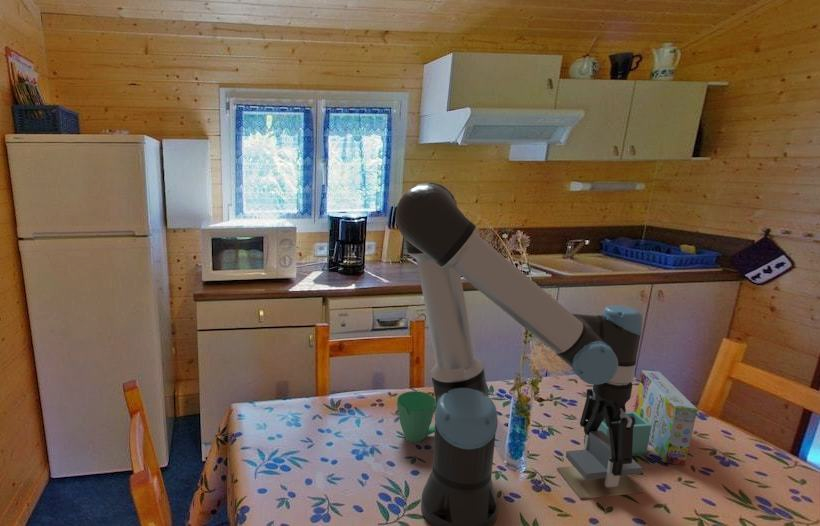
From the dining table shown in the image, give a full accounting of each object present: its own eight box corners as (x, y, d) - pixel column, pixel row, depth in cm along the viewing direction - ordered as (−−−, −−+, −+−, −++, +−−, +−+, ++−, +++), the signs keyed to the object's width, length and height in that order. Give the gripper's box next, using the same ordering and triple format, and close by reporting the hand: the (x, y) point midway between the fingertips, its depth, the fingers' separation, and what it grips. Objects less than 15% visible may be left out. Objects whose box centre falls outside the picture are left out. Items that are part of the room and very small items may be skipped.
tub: (602, 458, 113) (607, 428, 111) (587, 443, 119) (591, 414, 118) (646, 454, 116) (651, 425, 114) (629, 439, 122) (633, 411, 120)
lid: (585, 484, 99) (589, 454, 98) (565, 461, 107) (568, 433, 105) (640, 477, 102) (645, 449, 101) (616, 455, 110) (621, 428, 108)
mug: (398, 449, 113) (400, 411, 110) (392, 427, 122) (394, 391, 120) (457, 445, 115) (460, 408, 113) (446, 424, 125) (449, 389, 123)
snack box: (688, 466, 112) (699, 408, 109) (663, 464, 112) (674, 406, 109) (651, 419, 133) (660, 370, 129) (631, 417, 133) (639, 368, 130)
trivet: (580, 499, 99) (580, 497, 98) (556, 469, 108) (556, 467, 108) (642, 492, 102) (643, 490, 102) (614, 463, 111) (614, 462, 111)
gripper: (664, 401, 91) (646, 503, 95) (600, 357, 111) (588, 444, 115) (629, 403, 89) (613, 507, 94) (571, 358, 109) (560, 446, 114)
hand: (599, 472), depth 105 cm, fingers closed on lid, 8 cm apart
